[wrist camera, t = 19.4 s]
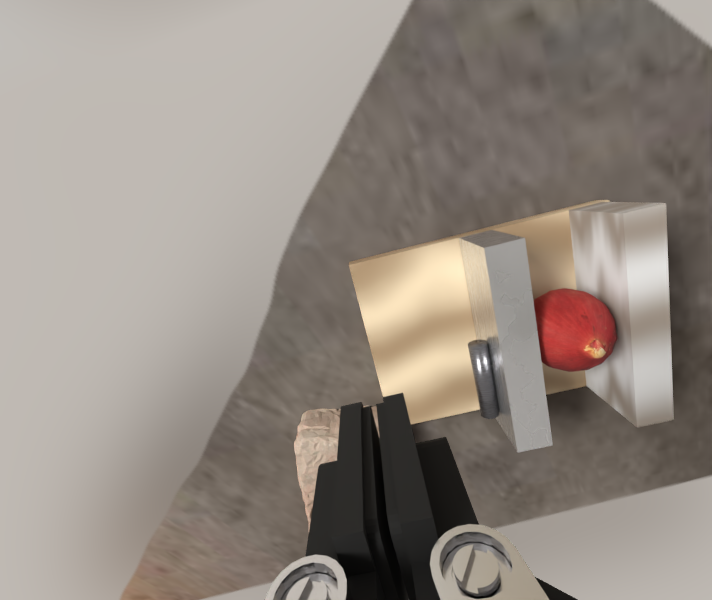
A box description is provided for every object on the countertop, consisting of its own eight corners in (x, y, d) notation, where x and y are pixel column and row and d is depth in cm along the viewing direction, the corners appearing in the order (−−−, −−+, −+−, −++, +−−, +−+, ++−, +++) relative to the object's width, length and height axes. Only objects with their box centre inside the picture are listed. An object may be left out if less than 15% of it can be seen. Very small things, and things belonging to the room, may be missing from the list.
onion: (589, 287, 30) (670, 319, 22) (563, 353, 31) (630, 404, 24) (519, 272, 30) (576, 298, 22) (496, 339, 31) (542, 386, 23)
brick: (297, 410, 35) (288, 442, 30) (388, 401, 35) (393, 432, 30) (320, 550, 39) (316, 596, 35) (401, 543, 39) (407, 589, 35)
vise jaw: (518, 401, 32) (552, 445, 27) (473, 411, 33) (497, 456, 27) (491, 229, 29) (525, 237, 23) (440, 242, 29) (461, 253, 23)
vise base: (610, 370, 33) (681, 418, 26) (390, 419, 35) (398, 477, 27) (596, 200, 30) (674, 200, 22) (349, 261, 31) (347, 281, 24)
